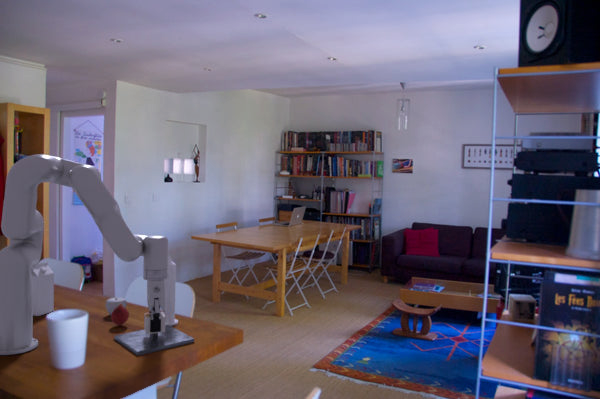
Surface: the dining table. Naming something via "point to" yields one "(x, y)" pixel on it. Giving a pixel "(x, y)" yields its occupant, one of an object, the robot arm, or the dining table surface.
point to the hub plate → (153, 340)
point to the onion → (120, 315)
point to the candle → (170, 294)
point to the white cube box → (147, 323)
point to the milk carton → (42, 289)
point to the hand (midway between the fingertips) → (154, 328)
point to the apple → (114, 304)
